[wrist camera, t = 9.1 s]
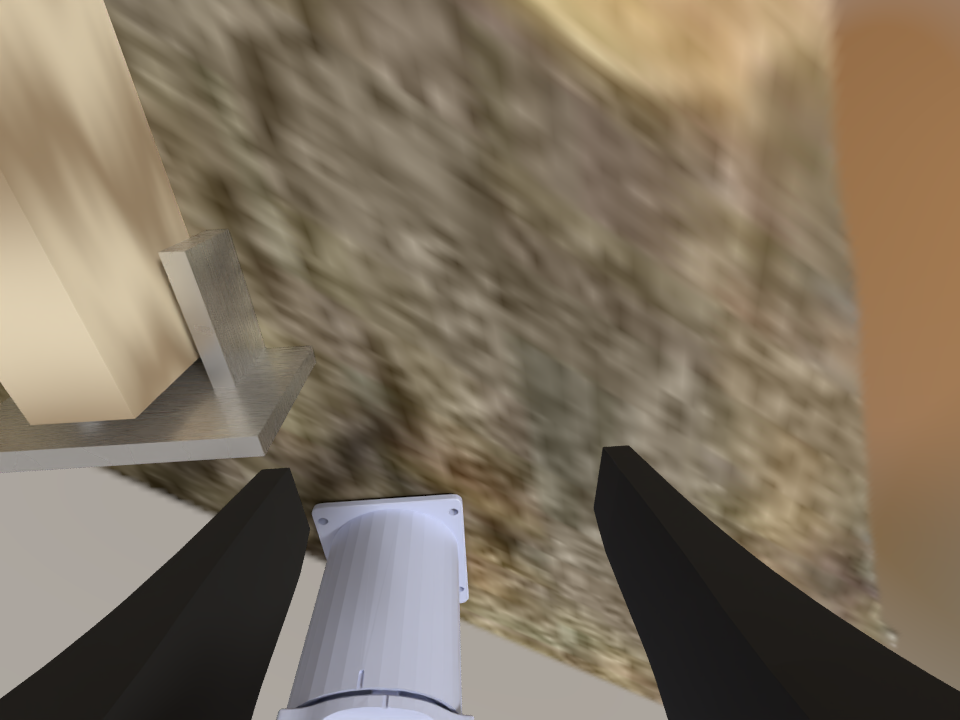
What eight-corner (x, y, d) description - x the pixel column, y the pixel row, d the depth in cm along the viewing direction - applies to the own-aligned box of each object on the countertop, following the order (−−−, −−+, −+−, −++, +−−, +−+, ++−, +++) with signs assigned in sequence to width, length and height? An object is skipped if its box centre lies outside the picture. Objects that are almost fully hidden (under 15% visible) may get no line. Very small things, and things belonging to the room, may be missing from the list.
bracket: (318, 371, 19) (269, 467, 14) (85, 384, 18) (-57, 488, 13) (281, 227, 16) (199, 280, 11) (1, 238, 15) (-229, 300, 10)
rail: (225, 331, 18) (135, 418, 13) (153, 335, 18) (30, 425, 13) (50, -157, 11) (-311, -406, 6) (-72, -156, 11) (-555, -411, 6)
